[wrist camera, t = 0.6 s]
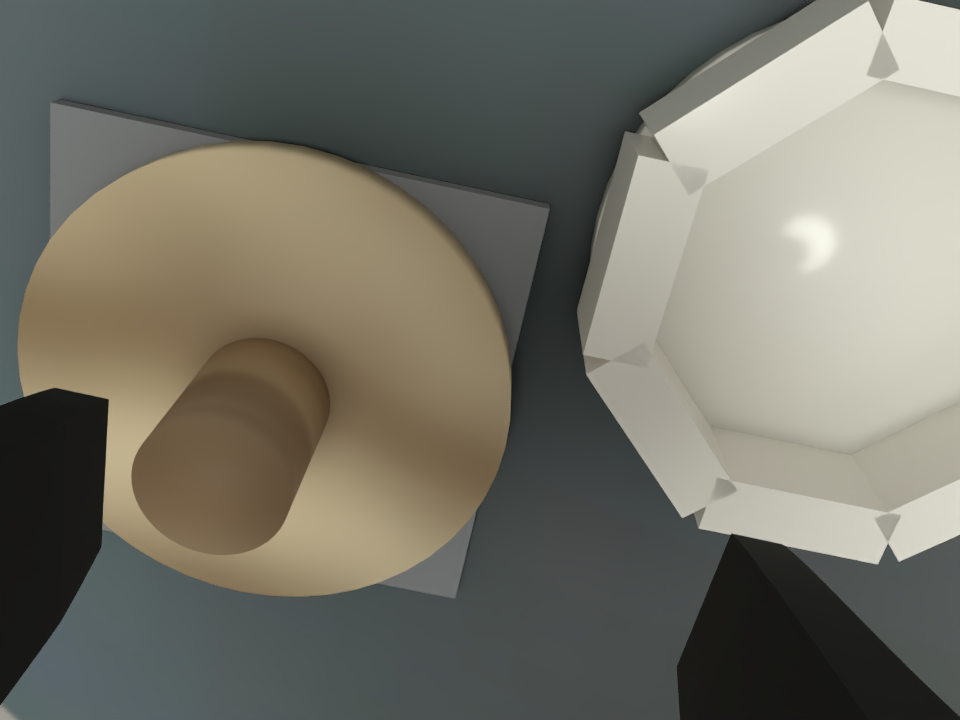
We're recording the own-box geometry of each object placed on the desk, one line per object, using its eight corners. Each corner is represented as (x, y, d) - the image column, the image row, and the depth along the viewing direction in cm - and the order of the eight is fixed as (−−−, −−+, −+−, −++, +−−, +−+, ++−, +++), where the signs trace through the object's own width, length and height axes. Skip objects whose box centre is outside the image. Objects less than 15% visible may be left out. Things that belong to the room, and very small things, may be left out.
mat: (456, 588, 22) (455, 598, 22) (57, 510, 22) (49, 519, 22) (549, 204, 18) (549, 208, 18) (59, 99, 18) (50, 102, 18)
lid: (461, 605, 22) (447, 753, 18) (41, 523, 22) (-71, 656, 18) (561, 201, 18) (571, 275, 14) (40, 89, 17) (-110, 132, 13)
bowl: (961, 510, 21) (1027, 594, 18) (541, 424, 20) (543, 497, 18) (1190, 68, 17) (1320, 91, 14) (667, -50, 16) (694, -51, 14)
